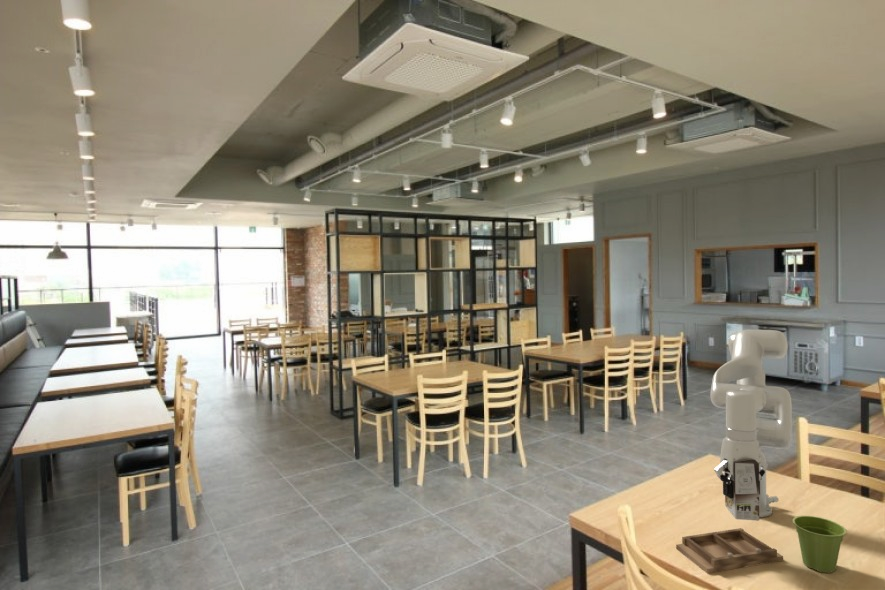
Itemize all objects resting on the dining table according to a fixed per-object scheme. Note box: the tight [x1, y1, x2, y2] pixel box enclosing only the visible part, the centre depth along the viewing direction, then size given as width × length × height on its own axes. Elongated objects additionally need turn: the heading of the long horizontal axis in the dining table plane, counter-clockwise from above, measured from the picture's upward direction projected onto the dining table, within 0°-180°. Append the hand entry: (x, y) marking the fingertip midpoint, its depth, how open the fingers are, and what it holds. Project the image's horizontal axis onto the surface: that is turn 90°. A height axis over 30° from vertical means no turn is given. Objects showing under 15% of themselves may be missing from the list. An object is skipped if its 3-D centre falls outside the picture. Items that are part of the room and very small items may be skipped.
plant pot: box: [792, 515, 847, 573], centre depth 142 cm, size 12×12×11 cm
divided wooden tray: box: [675, 527, 784, 574], centre depth 149 cm, size 24×13×4 cm, turn 102°
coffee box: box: [724, 460, 760, 522], centre depth 150 cm, size 9×6×16 cm
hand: (741, 494), depth 150 cm, fingers closed on coffee box, 8 cm apart
